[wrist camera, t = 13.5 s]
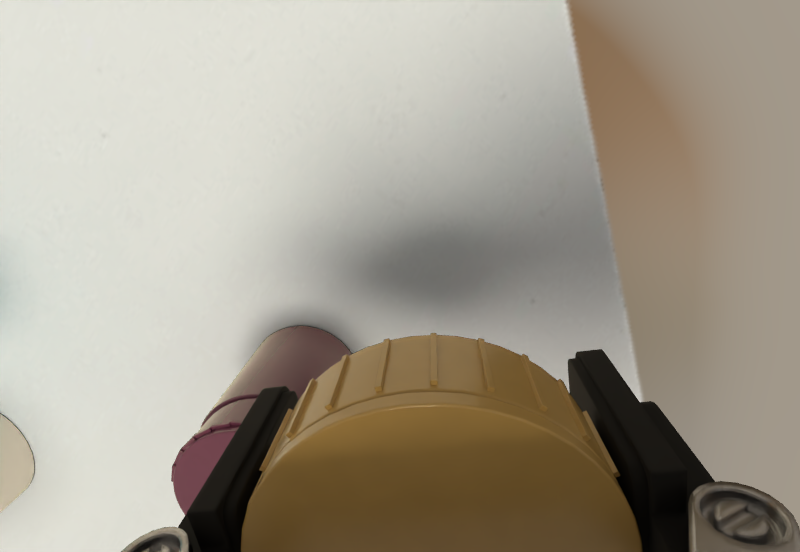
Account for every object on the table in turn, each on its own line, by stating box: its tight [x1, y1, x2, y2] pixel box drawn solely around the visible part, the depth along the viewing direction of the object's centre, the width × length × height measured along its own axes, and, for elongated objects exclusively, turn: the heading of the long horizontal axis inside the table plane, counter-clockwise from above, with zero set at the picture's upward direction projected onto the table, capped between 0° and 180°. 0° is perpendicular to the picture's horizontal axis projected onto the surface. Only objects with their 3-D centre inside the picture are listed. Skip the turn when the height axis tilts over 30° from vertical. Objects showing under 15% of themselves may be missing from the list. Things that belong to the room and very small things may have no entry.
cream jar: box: [171, 326, 351, 515], centre depth 20 cm, size 5×5×8 cm
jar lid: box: [241, 333, 643, 552], centre depth 9 cm, size 7×7×2 cm
